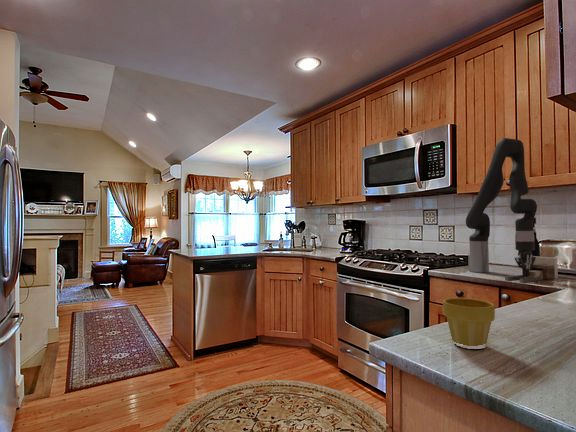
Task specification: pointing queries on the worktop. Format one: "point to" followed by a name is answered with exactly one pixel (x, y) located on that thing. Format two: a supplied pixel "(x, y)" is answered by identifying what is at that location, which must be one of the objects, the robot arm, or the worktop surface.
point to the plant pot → (469, 320)
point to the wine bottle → (535, 242)
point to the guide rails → (522, 278)
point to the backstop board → (548, 263)
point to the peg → (536, 274)
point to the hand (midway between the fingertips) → (525, 276)
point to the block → (544, 270)
